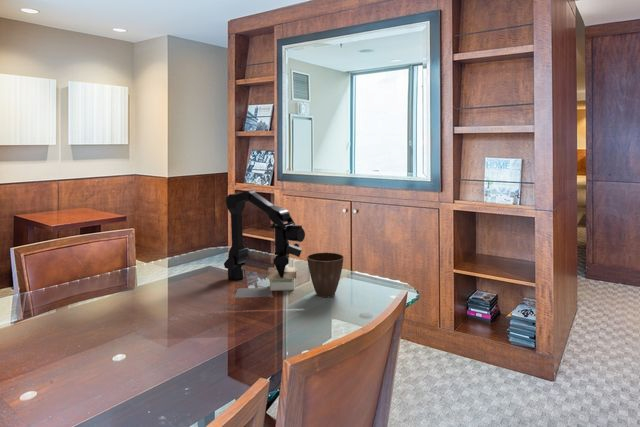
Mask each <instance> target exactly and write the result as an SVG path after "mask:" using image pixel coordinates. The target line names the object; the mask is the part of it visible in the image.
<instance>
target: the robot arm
mask: <svg viewBox="0 0 640 427" xmlns="http://www.w3.org/2000/svg"><path fill="white" fill-rule="evenodd" d="M225 202H226V204H225V205H226V207H227V210H228V212H229V214H230V228H231V230H230V231H231V232H230V233H231V247H230V248H229V250H228V255H227V256H228V258H227V259H226V260H225V261H224V263H223V266H224V268H225V269H227V280H226V281H227V282H231V281H232V282H233V281H235V282H239V281H240V282H241V281H242V280H244V278H245V273H244V272H245V270H244V268H243V266H245V265H246V262H247V261H248V257H249V253H248V252H249V249H248V248H247V247H245V245H244V242H243V241H244V237H243V234H244V233H243V212H244V210H245V207H246V202H250V204H252V205H254V206H255V207H256V208H258V209H259V210H261V211H263V213H265V214H266V215H267V217H268V218H269V220H270V221H271V222H272V224H271V226H269V229H271V230H272V229H273V230H274V257H273V265H274V268H276V269H277V271H278V273H279V275H280V277H281V278H283V276H284V270H285V267H286V266H287V265H289V263H290V255H293V256H295V257H297V258H300V256H301V253H302V251H303V248H302V247H300V244H299V243H302V242H304V240H305V237H306V232H305V230H304V227H303V225H302V224H301V225H300V224H296V223H295V221H294V219H293V218H292V216H291V215H290V211H289V210H288V209H286V208H284V207H281V206H277V205H274V203H271V202H270V201H268V200H267V199H266V198H264V197H263V196H261V195H260V194H258V193H257V192H256V191H255V190H253V189H250V190H245V191H242V192H238V193H230V194H228V195H227V196H226V198H225ZM290 242H295V243H293V244H290ZM298 242H299V243H298Z"/></svg>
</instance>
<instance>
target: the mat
mask: <svg viewBox="0 0 640 427" xmlns="http://www.w3.org/2000/svg"><path fill="white" fill-rule="evenodd" d="M270 294H271V291H270V287H250V288H249V287H246V288H245V287H244V288H243V287H241V288H240V287H239V288H237V290H236V293H235V295H234V297H233V298H235V299H238V298H239V299H241V298H242V299H244V298H269V297H270Z"/></svg>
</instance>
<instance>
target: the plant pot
mask: <svg viewBox="0 0 640 427" xmlns="http://www.w3.org/2000/svg"><path fill="white" fill-rule="evenodd" d="M306 260H307V265H308V271H309V275H310V279H311V283H312V285H313V289H314V292H315V293H316V296H317V297H319V298H331V297H334V296H335V295H336V293H337V292H336V291H337V289H338V286H339V283H340V280H341V279H340V278H341V277H342V276H341V275H342V272H343V271H342V270H343V264H344V255H342V254H340V253H335V252H317V253H311V254H308V255H307V256H306Z"/></svg>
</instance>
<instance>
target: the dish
mask: <svg viewBox="0 0 640 427" xmlns="http://www.w3.org/2000/svg"><path fill="white" fill-rule="evenodd" d="M269 282H270V283H269V286H270V287H269V288H270V292H272V291H273V292H275V291H278V292H279V291H295V279H270V281H269Z"/></svg>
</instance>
